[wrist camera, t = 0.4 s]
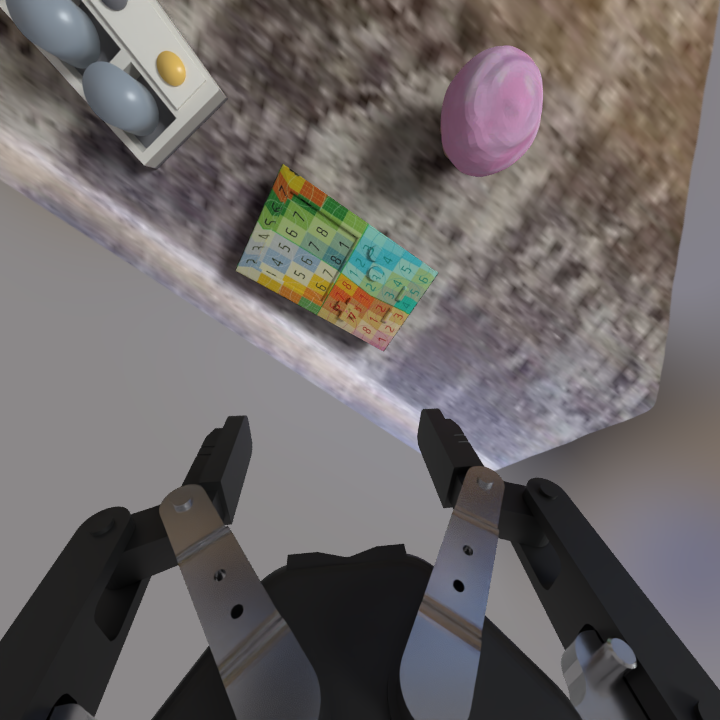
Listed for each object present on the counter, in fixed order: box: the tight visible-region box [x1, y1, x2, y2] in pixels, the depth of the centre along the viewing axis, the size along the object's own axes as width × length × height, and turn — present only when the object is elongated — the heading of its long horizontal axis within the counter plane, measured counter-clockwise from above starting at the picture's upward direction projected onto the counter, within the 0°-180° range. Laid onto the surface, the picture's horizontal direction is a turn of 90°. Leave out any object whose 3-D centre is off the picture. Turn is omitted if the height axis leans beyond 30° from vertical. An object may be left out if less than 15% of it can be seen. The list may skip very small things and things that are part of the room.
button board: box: [0, 0, 228, 169], centre depth 25 cm, size 17×10×2 cm, turn 36°
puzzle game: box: [235, 164, 438, 351], centre depth 35 cm, size 12×5×20 cm
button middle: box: [5, 0, 100, 68], centre depth 22 cm, size 4×4×3 cm
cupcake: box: [440, 46, 543, 177], centre depth 27 cm, size 9×9×10 cm
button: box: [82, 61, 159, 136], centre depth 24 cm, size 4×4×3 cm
